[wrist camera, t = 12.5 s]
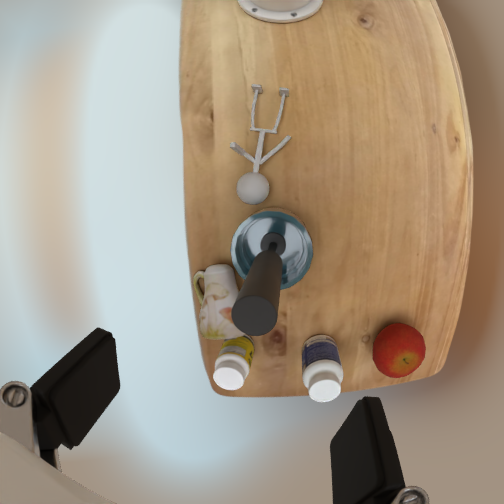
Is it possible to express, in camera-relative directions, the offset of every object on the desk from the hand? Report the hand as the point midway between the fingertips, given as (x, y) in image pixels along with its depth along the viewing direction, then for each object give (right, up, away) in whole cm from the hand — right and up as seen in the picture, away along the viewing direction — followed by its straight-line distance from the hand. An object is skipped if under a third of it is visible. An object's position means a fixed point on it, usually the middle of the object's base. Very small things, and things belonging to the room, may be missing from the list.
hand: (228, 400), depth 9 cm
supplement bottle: (-1, -9, +31) cm, 33 cm away
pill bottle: (+11, -9, +30) cm, 33 cm away
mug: (-3, 0, +30) cm, 30 cm away
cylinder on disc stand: (+4, +6, +26) cm, 27 cm away
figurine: (+2, +19, +24) cm, 31 cm away
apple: (+22, -7, +28) cm, 36 cm away
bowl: (+4, +6, +27) cm, 28 cm away
